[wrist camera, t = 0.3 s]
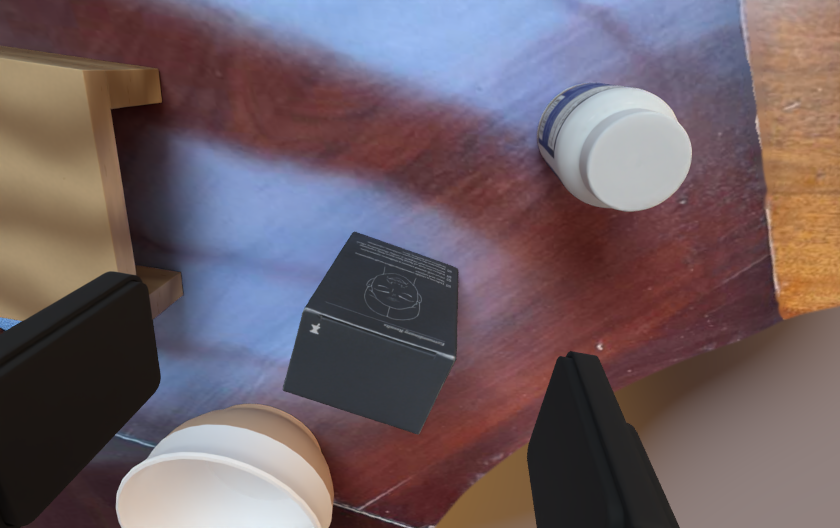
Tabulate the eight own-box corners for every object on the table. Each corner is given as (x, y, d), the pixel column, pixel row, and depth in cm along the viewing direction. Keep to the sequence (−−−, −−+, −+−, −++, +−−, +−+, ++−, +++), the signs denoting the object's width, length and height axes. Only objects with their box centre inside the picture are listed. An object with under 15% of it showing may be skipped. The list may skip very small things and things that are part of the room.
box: (333, 296, 33) (277, 392, 23) (353, 228, 30) (301, 304, 21) (433, 331, 33) (419, 440, 24) (461, 267, 31) (458, 359, 21)
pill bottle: (639, 155, 27) (724, 200, 18) (551, 188, 28) (589, 246, 19) (616, 65, 25) (698, 65, 16) (523, 105, 26) (552, 126, 17)
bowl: (198, 349, 36) (131, 421, 29) (378, 426, 38) (357, 512, 30) (162, 472, 43) (101, 554, 35) (317, 532, 44) (287, 624, 37)
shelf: (3, 46, 28) (-110, 41, 22) (159, 68, 27) (82, 69, 22) (58, 274, 34) (-19, 314, 29) (183, 295, 34) (129, 339, 29)
